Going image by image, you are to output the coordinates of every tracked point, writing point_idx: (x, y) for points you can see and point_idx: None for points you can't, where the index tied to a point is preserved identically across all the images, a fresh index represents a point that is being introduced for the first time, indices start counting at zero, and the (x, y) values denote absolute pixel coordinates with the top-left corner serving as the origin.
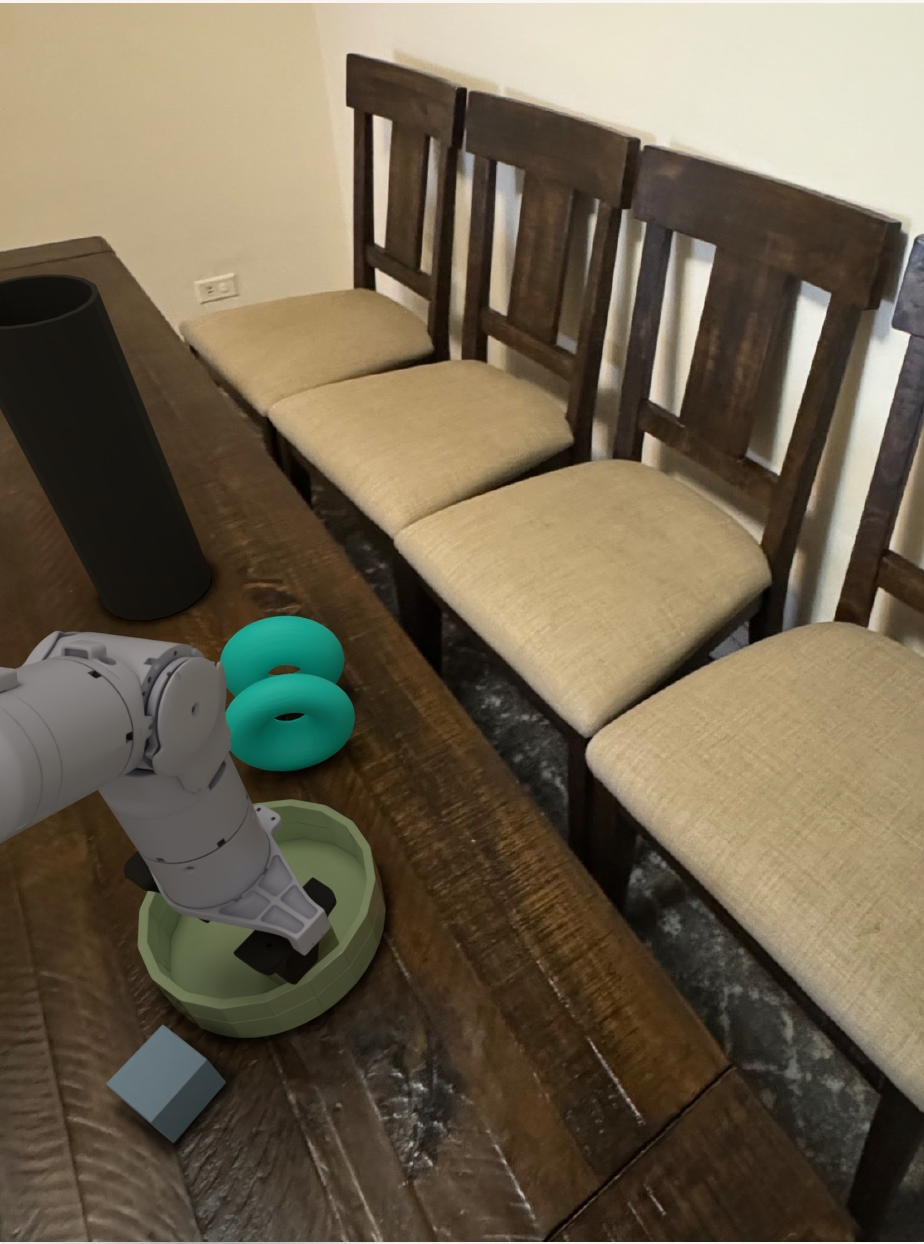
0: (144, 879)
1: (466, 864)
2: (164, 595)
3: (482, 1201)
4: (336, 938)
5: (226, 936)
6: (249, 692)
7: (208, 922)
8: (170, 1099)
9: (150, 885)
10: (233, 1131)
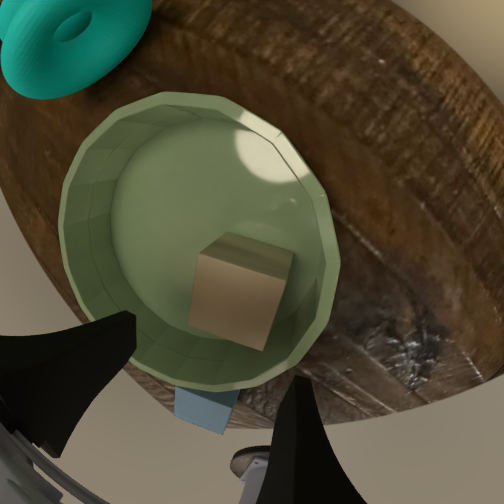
0: (45, 450)
1: (390, 94)
2: (1, 40)
3: (456, 384)
4: (290, 267)
5: (161, 264)
6: (1, 49)
7: (136, 346)
8: (225, 426)
9: (56, 453)
10: (273, 392)
